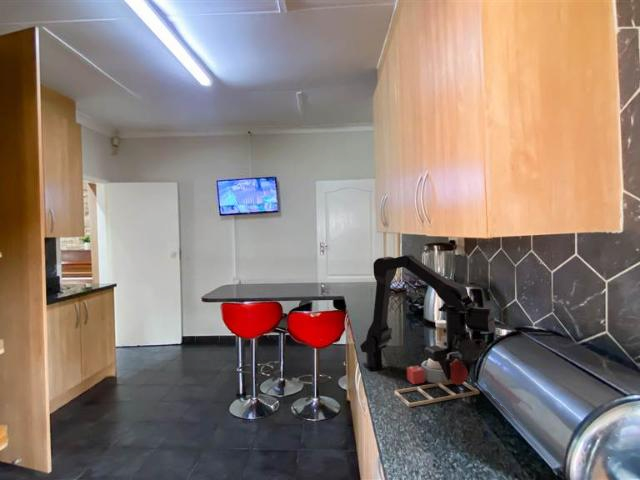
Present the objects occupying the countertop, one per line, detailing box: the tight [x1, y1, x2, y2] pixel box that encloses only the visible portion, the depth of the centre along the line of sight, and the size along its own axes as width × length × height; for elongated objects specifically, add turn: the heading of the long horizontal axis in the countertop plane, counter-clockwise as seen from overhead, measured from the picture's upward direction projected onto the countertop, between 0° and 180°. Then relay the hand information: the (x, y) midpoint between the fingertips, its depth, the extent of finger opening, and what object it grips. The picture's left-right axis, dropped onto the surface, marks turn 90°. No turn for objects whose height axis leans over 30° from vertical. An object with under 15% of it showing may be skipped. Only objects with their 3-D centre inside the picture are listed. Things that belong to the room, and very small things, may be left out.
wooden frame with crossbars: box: [393, 381, 480, 408], centre depth 108 cm, size 9×23×1 cm, turn 105°
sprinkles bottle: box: [435, 319, 447, 348], centre depth 138 cm, size 5×5×13 cm
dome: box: [426, 358, 442, 370], centre depth 119 cm, size 7×7×6 cm
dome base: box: [406, 359, 452, 385], centre depth 119 cm, size 10×15×4 cm, turn 105°
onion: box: [450, 358, 469, 386], centre depth 110 cm, size 6×6×8 cm
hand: (457, 378), depth 110 cm, fingers closed on onion, 6 cm apart
